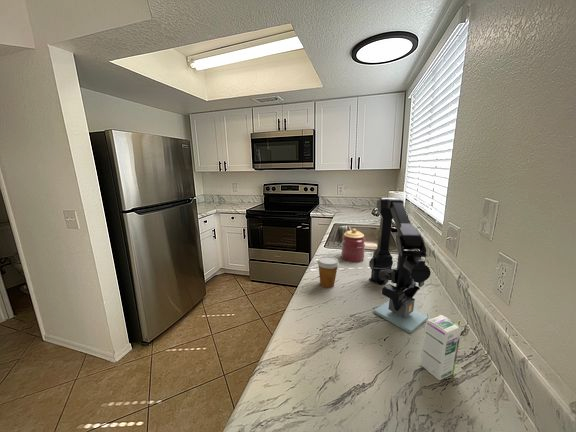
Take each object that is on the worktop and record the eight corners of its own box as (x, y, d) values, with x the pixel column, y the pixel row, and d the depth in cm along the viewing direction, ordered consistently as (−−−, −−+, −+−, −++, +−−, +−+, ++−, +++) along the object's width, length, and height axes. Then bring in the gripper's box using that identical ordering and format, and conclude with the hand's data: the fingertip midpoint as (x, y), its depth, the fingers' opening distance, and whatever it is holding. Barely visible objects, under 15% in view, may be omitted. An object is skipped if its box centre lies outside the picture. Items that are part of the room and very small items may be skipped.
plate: (373, 312, 89) (373, 309, 89) (391, 301, 96) (391, 299, 96) (410, 333, 78) (411, 330, 78) (427, 319, 85) (428, 317, 85)
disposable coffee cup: (339, 281, 112) (341, 257, 109) (334, 291, 103) (336, 266, 101) (320, 277, 116) (321, 254, 113) (313, 286, 107) (314, 262, 105)
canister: (360, 264, 131) (363, 233, 127) (337, 259, 137) (339, 229, 133) (366, 256, 142) (368, 227, 138) (344, 252, 148) (346, 224, 144)
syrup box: (439, 381, 61) (448, 333, 58) (419, 364, 67) (426, 318, 63) (454, 373, 64) (463, 326, 60) (433, 357, 69) (440, 313, 66)
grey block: (388, 309, 88) (389, 296, 86) (397, 303, 91) (398, 291, 90) (405, 317, 83) (406, 305, 82) (413, 311, 86) (415, 299, 85)
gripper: (398, 254, 95) (394, 289, 98) (369, 266, 84) (366, 305, 88) (427, 263, 86) (422, 302, 90) (400, 278, 75) (395, 321, 79)
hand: (401, 307), depth 87 cm, fingers closed on grey block, 6 cm apart
